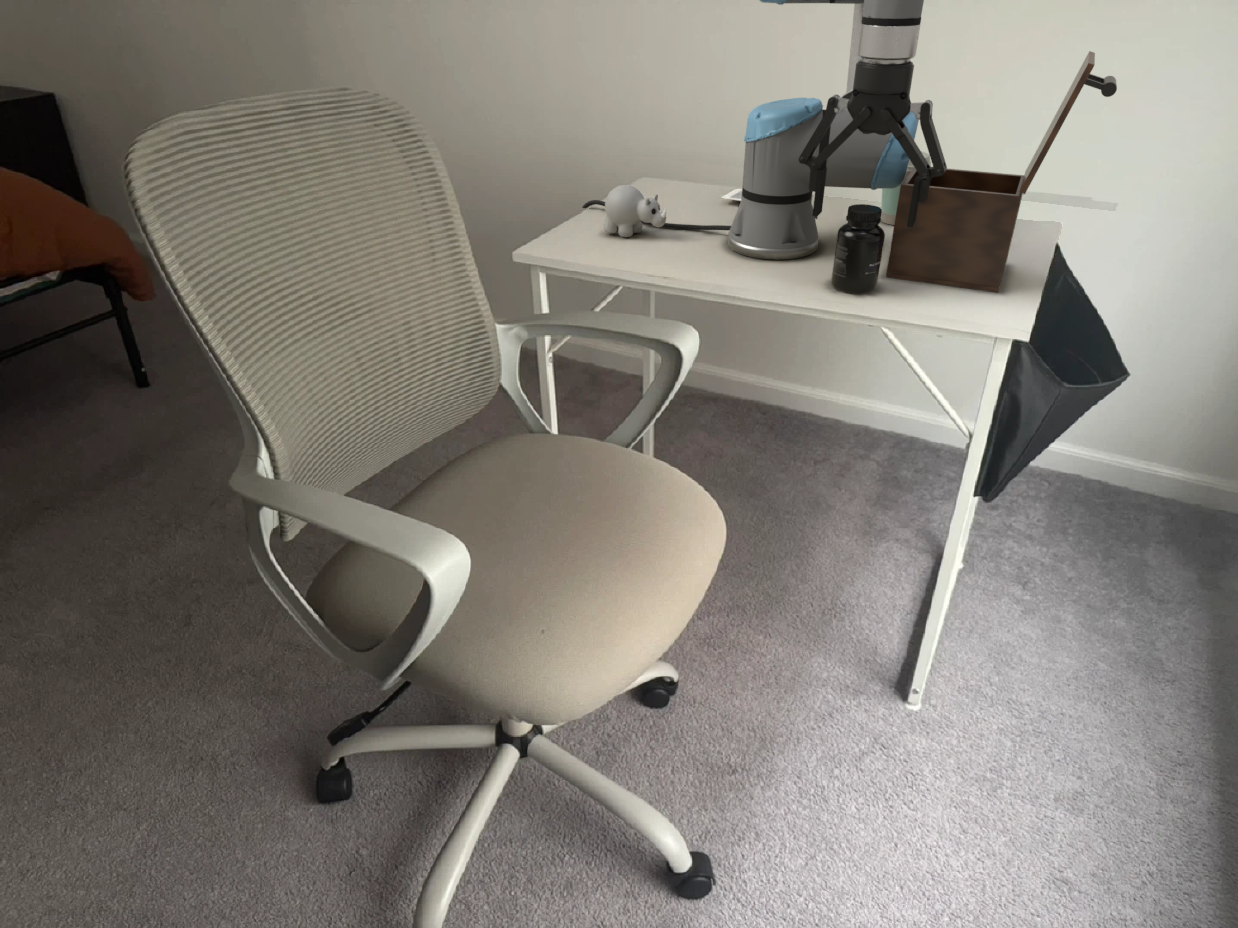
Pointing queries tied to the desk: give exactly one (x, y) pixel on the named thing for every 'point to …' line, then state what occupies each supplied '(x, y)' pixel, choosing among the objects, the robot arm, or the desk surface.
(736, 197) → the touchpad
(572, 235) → the desk surface
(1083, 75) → the box lid
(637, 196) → the toy rhinoceros
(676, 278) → the desk surface
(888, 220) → the coffee cup
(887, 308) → the desk surface
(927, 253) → the storage box
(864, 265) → the supplement bottle
